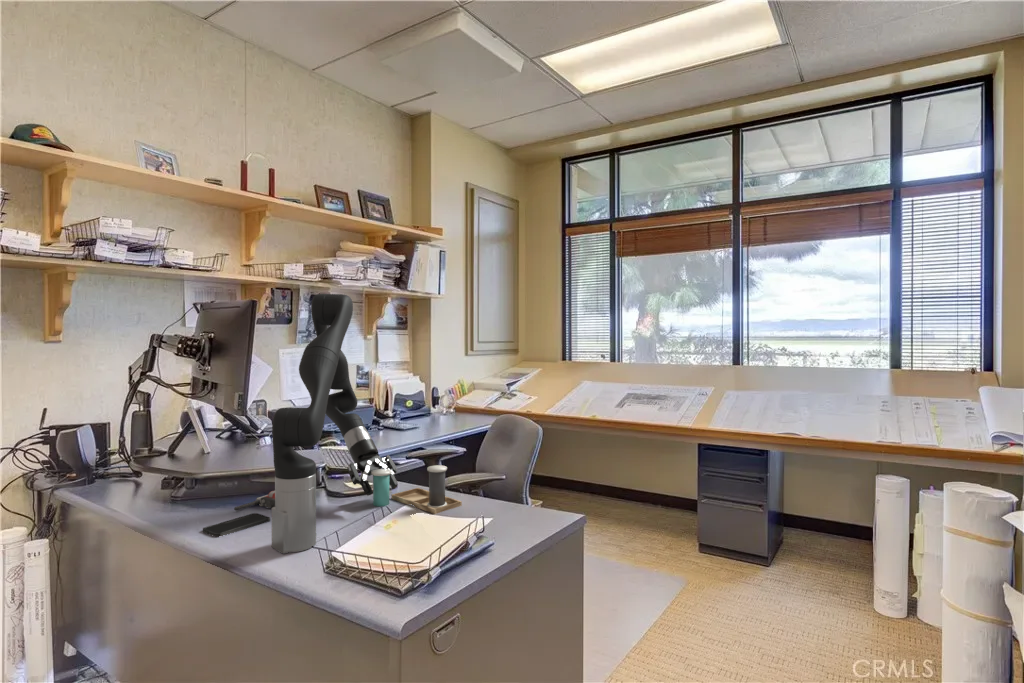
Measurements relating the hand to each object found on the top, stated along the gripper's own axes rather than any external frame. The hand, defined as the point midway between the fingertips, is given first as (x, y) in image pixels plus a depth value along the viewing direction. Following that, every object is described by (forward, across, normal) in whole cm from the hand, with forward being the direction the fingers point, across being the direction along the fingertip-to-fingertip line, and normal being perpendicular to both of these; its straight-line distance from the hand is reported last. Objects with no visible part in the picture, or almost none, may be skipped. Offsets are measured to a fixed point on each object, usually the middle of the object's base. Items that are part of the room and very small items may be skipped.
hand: (383, 490), depth 163 cm
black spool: (+11, +10, -6) cm, 16 cm away
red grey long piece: (-15, -20, +24) cm, 34 cm away
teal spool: (+3, 0, +4) cm, 6 cm away
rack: (+9, +10, -1) cm, 13 cm away
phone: (-8, -34, +16) cm, 38 cm away
